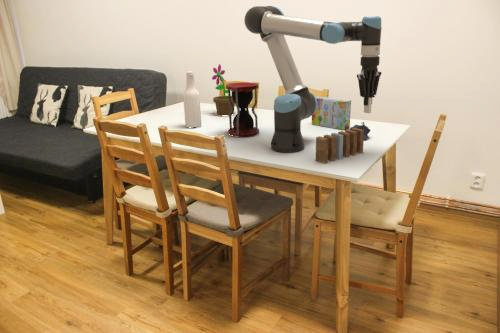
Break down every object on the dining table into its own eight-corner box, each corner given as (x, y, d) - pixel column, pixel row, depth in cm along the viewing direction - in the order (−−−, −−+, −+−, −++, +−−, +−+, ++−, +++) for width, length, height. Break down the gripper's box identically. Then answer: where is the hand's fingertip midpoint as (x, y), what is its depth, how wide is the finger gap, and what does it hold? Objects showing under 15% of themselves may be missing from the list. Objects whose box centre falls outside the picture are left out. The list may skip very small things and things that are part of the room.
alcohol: (188, 124, 249) (184, 70, 239) (203, 124, 247) (200, 70, 237) (183, 128, 241) (178, 72, 231) (198, 128, 239) (194, 72, 229)
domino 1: (324, 163, 177) (324, 139, 174) (315, 160, 181) (316, 137, 178) (327, 162, 178) (328, 138, 175) (319, 159, 182) (319, 136, 179)
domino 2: (331, 161, 180) (332, 137, 176) (322, 158, 183) (323, 135, 180) (335, 160, 181) (336, 136, 177) (326, 157, 185) (327, 134, 181)
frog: (375, 138, 211) (376, 122, 208) (357, 142, 205) (358, 126, 202) (359, 134, 219) (360, 119, 216) (342, 138, 212) (343, 122, 210)
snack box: (350, 128, 230) (351, 99, 225) (344, 130, 226) (345, 101, 221) (316, 122, 244) (317, 95, 239) (310, 124, 240) (311, 97, 235)
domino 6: (359, 153, 189) (360, 130, 185) (350, 150, 193) (351, 128, 189) (362, 152, 190) (364, 130, 186) (354, 150, 194) (355, 127, 190)
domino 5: (352, 155, 186) (354, 132, 183) (344, 152, 190) (345, 130, 187) (356, 154, 187) (357, 131, 184) (347, 151, 191) (348, 129, 188)
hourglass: (222, 136, 223) (220, 86, 214) (235, 128, 237) (233, 81, 229) (252, 138, 217) (251, 87, 209) (263, 130, 231) (262, 82, 223)
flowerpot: (223, 111, 282) (221, 63, 272) (241, 113, 274) (240, 63, 264) (209, 115, 271) (206, 65, 261) (227, 117, 263) (225, 66, 253)
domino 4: (346, 157, 184) (347, 134, 181) (337, 154, 188) (338, 131, 185) (349, 156, 185) (350, 133, 182) (340, 153, 189) (341, 131, 186)
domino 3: (333, 155, 187) (334, 132, 184) (342, 158, 183) (343, 135, 180) (330, 156, 186) (331, 133, 183) (338, 159, 182) (339, 135, 179)
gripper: (366, 57, 174) (363, 116, 182) (388, 55, 181) (384, 111, 189) (352, 56, 180) (350, 113, 188) (373, 54, 187) (370, 109, 195)
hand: (367, 112), depth 188 cm, fingers closed
